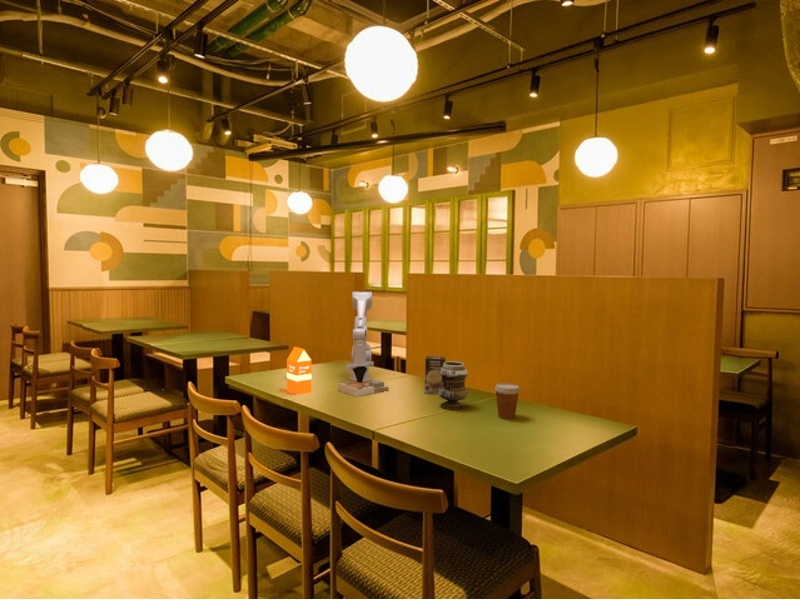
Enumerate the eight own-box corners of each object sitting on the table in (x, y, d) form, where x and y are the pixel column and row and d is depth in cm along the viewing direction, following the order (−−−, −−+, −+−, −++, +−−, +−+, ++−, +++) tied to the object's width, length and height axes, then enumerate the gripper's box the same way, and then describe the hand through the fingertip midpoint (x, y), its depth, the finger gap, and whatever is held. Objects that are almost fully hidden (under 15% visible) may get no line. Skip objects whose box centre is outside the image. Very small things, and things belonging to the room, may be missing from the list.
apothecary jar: (455, 412, 203) (456, 367, 202) (431, 406, 211) (432, 362, 210) (473, 406, 212) (474, 363, 211) (449, 400, 220) (450, 359, 219)
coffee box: (423, 393, 231) (424, 358, 230) (424, 390, 238) (425, 355, 237) (444, 394, 230) (445, 359, 229) (444, 391, 237) (445, 356, 236)
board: (355, 387, 242) (355, 382, 242) (369, 384, 247) (369, 380, 247) (374, 393, 230) (374, 389, 230) (388, 390, 235) (388, 386, 235)
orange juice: (296, 394, 226) (296, 349, 225) (286, 391, 233) (286, 347, 231) (311, 392, 231) (311, 348, 230) (301, 388, 238) (301, 345, 237)
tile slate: (368, 385, 236) (368, 381, 236) (377, 384, 239) (377, 380, 239) (375, 388, 232) (375, 383, 232) (384, 386, 235) (384, 382, 235)
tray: (337, 390, 235) (337, 382, 235) (354, 387, 241) (355, 379, 241) (356, 397, 224) (356, 389, 224) (374, 393, 230) (374, 386, 230)
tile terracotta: (347, 388, 236) (346, 384, 236) (355, 385, 240) (355, 381, 239) (353, 390, 233) (352, 386, 232) (362, 387, 236) (361, 383, 235)
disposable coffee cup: (489, 414, 200) (490, 384, 200) (509, 412, 204) (510, 382, 203) (503, 421, 192) (504, 389, 191) (524, 418, 196) (525, 387, 195)
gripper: (351, 356, 229) (351, 386, 230) (377, 353, 239) (377, 382, 240) (343, 354, 235) (342, 383, 236) (368, 351, 244) (368, 379, 245)
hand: (359, 383), depth 238 cm, fingers closed
